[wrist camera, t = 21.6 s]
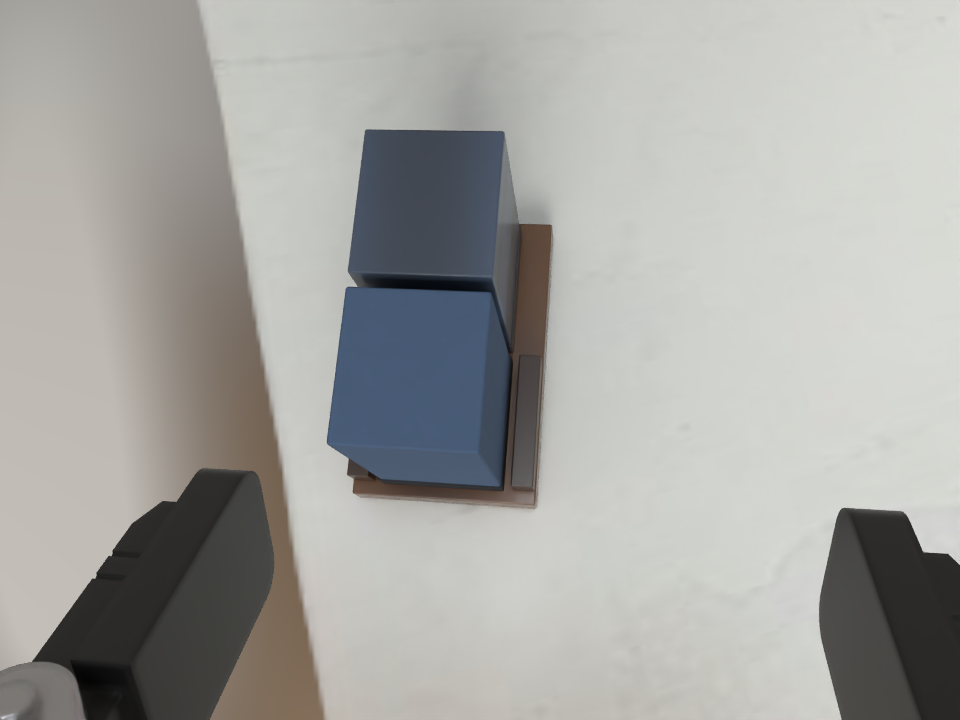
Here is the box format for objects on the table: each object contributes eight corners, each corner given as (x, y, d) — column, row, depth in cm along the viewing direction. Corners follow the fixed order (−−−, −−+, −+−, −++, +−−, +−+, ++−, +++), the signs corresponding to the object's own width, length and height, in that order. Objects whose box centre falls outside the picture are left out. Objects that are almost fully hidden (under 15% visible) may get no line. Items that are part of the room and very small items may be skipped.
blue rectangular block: (513, 361, 34) (493, 289, 26) (503, 491, 32) (480, 456, 25) (396, 356, 34) (344, 283, 27) (383, 483, 33) (323, 446, 25)
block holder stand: (552, 236, 36) (544, 116, 27) (536, 509, 33) (521, 473, 24) (389, 231, 37) (329, 113, 28) (359, 497, 34) (282, 458, 25)
